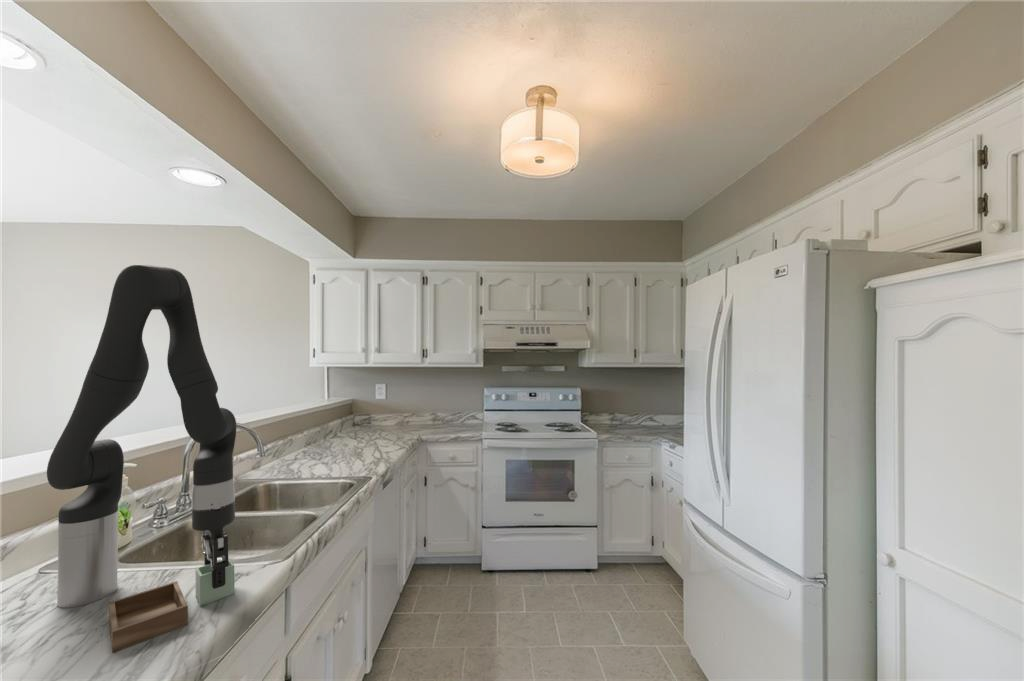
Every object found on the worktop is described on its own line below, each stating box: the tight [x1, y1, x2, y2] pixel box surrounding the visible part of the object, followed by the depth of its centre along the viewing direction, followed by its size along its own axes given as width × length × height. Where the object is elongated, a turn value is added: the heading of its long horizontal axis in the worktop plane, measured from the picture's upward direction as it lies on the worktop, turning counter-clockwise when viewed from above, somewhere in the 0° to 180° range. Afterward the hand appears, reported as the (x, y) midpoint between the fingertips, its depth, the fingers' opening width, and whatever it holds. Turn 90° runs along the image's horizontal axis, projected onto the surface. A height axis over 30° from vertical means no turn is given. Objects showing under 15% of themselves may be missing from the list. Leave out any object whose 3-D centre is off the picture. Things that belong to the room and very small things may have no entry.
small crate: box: [195, 557, 235, 607], centre depth 90 cm, size 5×6×6 cm
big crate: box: [108, 580, 189, 654], centre depth 81 cm, size 13×10×4 cm
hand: (214, 579), depth 90 cm, fingers open, 8 cm apart
